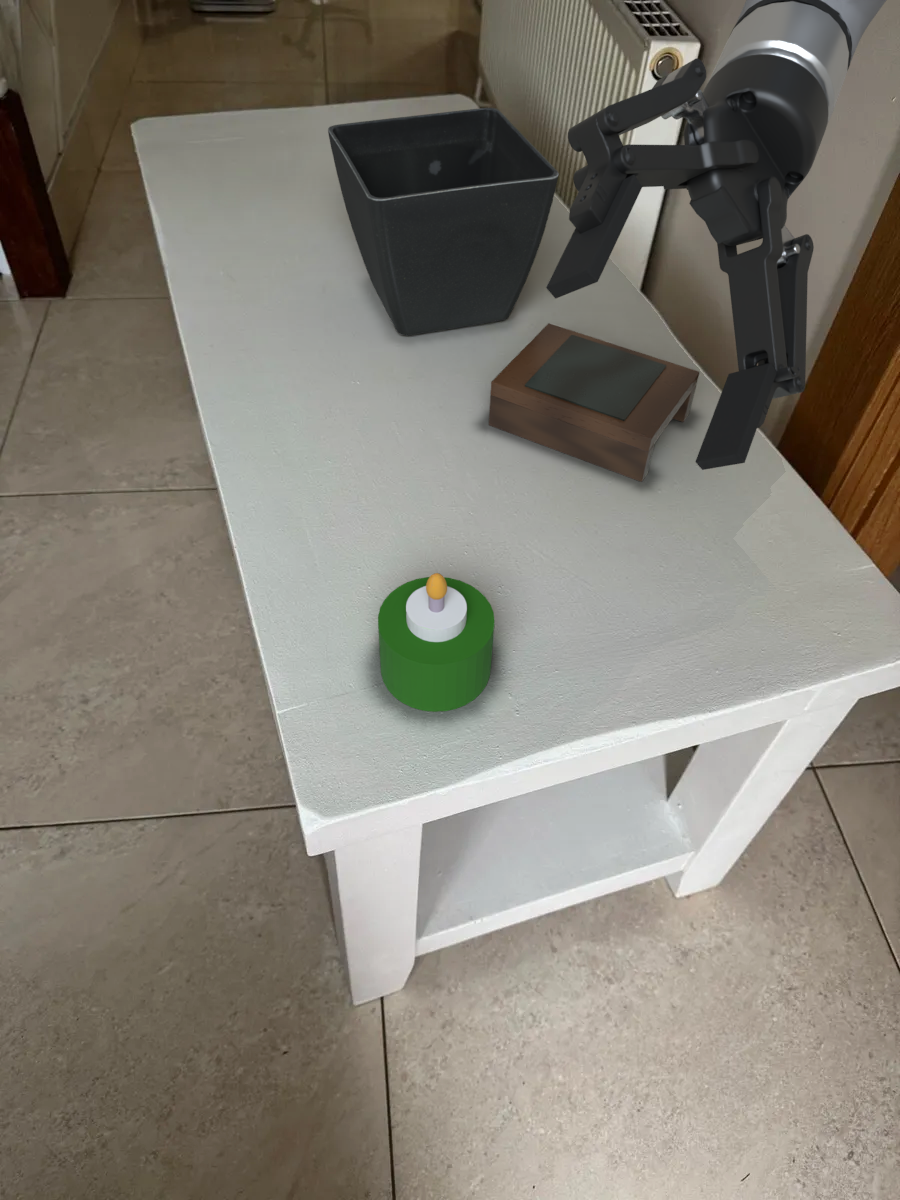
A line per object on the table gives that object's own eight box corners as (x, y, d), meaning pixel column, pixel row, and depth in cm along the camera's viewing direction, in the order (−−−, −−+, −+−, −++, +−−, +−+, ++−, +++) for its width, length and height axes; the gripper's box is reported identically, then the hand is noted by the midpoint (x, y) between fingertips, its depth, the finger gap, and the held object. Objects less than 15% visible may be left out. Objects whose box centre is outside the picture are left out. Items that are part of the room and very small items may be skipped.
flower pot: (336, 272, 109) (325, 121, 97) (488, 250, 113) (496, 103, 101) (377, 359, 97) (370, 200, 85) (546, 332, 101) (562, 176, 89)
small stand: (688, 414, 92) (700, 369, 88) (641, 482, 85) (651, 436, 81) (543, 365, 97) (548, 320, 93) (488, 425, 90) (491, 379, 86)
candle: (511, 657, 71) (521, 565, 63) (448, 730, 66) (450, 641, 59) (424, 609, 74) (424, 516, 66) (358, 675, 69) (349, 584, 62)
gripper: (803, 279, 65) (714, 528, 57) (593, -43, 52) (440, 222, 44) (914, 243, 59) (831, 515, 51) (708, -131, 46) (555, 158, 38)
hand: (650, 380), depth 47 cm, fingers open, 13 cm apart
